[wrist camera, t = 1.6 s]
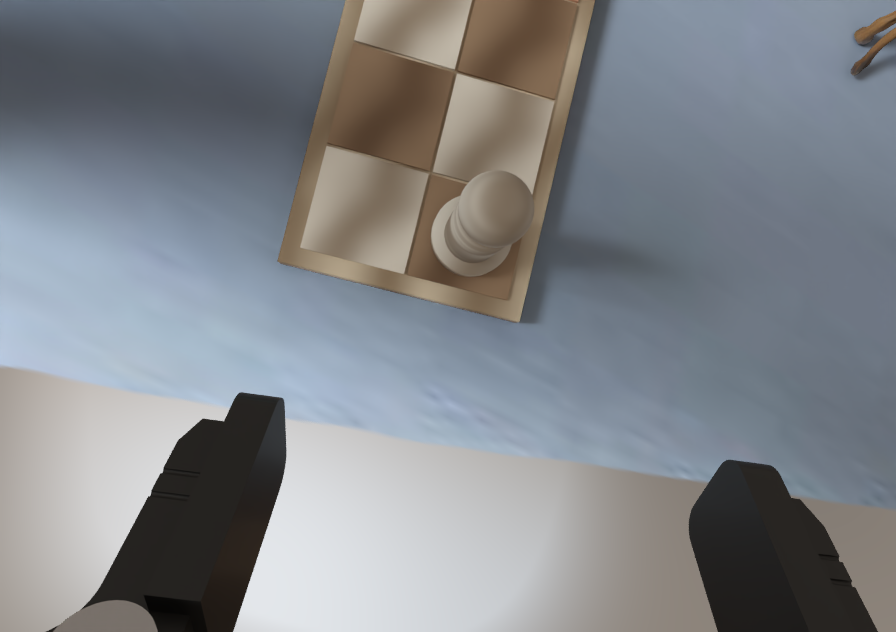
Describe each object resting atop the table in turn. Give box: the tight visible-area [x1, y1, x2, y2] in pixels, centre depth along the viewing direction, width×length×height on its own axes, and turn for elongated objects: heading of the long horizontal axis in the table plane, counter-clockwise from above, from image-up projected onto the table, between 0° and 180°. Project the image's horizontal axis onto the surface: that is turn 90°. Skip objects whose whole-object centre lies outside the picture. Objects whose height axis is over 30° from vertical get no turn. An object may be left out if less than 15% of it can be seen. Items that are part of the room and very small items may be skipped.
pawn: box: [431, 170, 534, 277], centre depth 31 cm, size 5×5×10 cm
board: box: [278, 0, 595, 323], centre depth 37 cm, size 15×28×1 cm, turn 166°
